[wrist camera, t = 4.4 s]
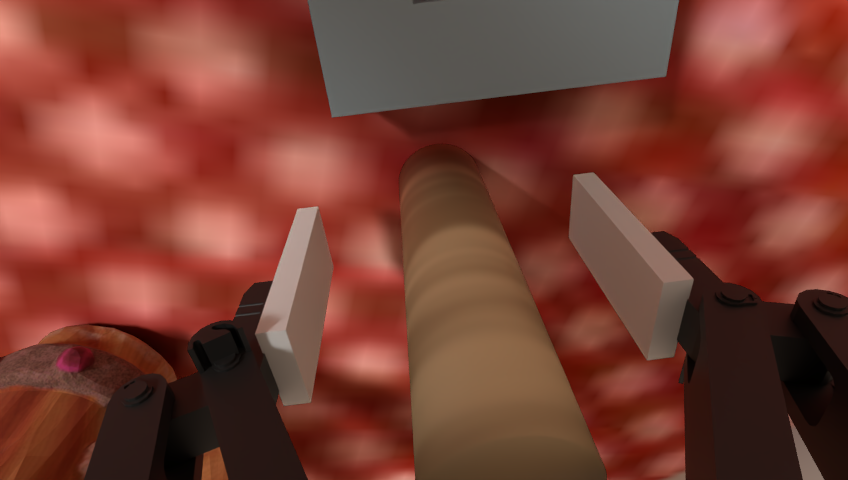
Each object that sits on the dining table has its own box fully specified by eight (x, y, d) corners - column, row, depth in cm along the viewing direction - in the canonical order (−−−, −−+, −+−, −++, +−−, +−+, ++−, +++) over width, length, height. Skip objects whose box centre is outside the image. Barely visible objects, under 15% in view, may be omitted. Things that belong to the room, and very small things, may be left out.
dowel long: (393, 149, 20) (405, 449, 8) (478, 138, 20) (617, 423, 8) (404, 222, 22) (426, 554, 10) (481, 213, 22) (596, 531, 10)
